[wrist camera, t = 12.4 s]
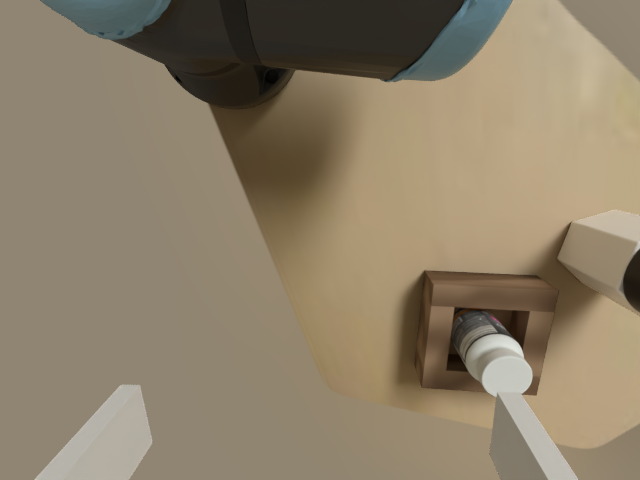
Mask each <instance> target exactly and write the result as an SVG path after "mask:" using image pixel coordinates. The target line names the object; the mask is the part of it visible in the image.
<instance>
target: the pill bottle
mask: <svg viewBox="0 0 640 480" xmlns="http://www.w3.org/2000/svg"><path fill="white" fill-rule="evenodd" d="M450 338H451V340H452V342H453V344H454V346H455V348H456V350H457V351H458V353H459V355H460V356H461V358H462V360H463V362H464V364H465V366H466V368H467V370H468V371H469V373H470V374H471V375H472V376H473V377H474V378H475V379H476V380H478V381H480V383H481V384H482V386H483V387H484V389H485V390H486V391H487V392H488V393H489V394H490V395H492V396H494V397H497V392H517V393H521V394H522V393H524V392H525V391H526V390H527V389H528V388H529V386H530V384H531V382H532V377H533V375H532V370H531V368H530V366H529V364H528V363H527V362H526V360H525V359H524V354H523V351H522V349H521V347H520V345H519V343H518V342H517V341H516V340H515V339H514V338H513V337H512V336H511V335H510V333H509V332H508V331H507V330H506V329H505V328H504V327H503V326H502V324H501V323H500V322H499V321H498V320H497V319H496V318H495V317H494V316H493V314H491V313H490V312H489V311H488V310H486V309H481V308H464V309H462V310H460V311H459V312H458V313H456V314H455V315H454V316H453V322H452V330H451V337H450Z"/></svg>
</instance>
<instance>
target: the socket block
mask: <svg viewBox="0 0 640 480" xmlns="http://www.w3.org/2000/svg"><path fill="white" fill-rule="evenodd" d="M558 293H559V290H557V289H556V288H554V287H553V286H551V285H550V284H548V283H547V282H545V281H544V280H542V279H541V278H539V277H538V276H532V275H510V274H489V273H467V272H445V271H425V272H424V282H423V291H422V300H421V310H420V319H419V329H418V338H417V347H416V357H415V368H416V371H417V374H418V377H419V380H420V383H421V387H422V388H433V389H448V390H463V391H477V392H487V391H486V390H485V389H484V387H483V386H482V384H481V383H480V381H478V380H476V379H475V378H474V377H473V376H472V375H471V374H470V373H469V371H468V370H467V368H466V366H465V364H464V362H463V360H462V358H461V356H460V355H459V353H458V351H457V350H456V348H455V346H454V344H453V342H452V340H451V338H450V337H451V330H452V322H453V316H454V315H455V314H456V313H458V312H459V311H460V310H462V309H464V308H481V309H486V310H488V311H489V312H490V313H491V314H493V316H494V317H495V318H496V319H497V320H498V321H499V322H500V323H501V324H502V326H503V327H504V328H505V329H506V330H507V331H508V332H509V333H510V335H511V336H512V337H513V338H514V339H515V340H516V341H517V342H518V343H519V345H520V347H521V349H522V351H523V354H524V359H525V360H526V362H527V363H528V364H529V366H530V368H531V370H532V375H533V377H532V382H531V384H530V386H529V388H528V389H527V390H526V391H525V392H524V393H522V395H537V390H538V386H539V381H540V377H541V372H542V367H543V363H544V358H545V353H546V349H547V344H548V339H549V335H550V330H551V325H552V321H553V316H554V311H555V307H556V302H557V297H558Z"/></svg>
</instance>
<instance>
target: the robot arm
mask: <svg viewBox="0 0 640 480" xmlns="http://www.w3.org/2000/svg"><path fill="white" fill-rule="evenodd" d="M40 1H42V2H43V3H44V4H46V5H47V6H48V7H50V8H51V9H52V10H54V11H56V12H57V13H59V14H61V15H62V16H64V17H66V18H67V19H69V20H71V21H72V22H74V23H75V24H76V25H77V26H78V27H80V28H82V29H83V30H84V31H86V32H87V33H89V34H92V35H96V36H98V37H100V38H103V39H109V40H112V41H114V42H116V43H119V44H121V45H123V46H125V47H127V48H130V49H132V50H134V51H136V52H138V53H141V54H143V55H145V56H147V57H150V58H152V59H154V60H156V61H158V62H161V63H163V64H165V66H166V68H167V69H168V71H169V72H170V74H171V75H172V76H173V77H174V79H175V80H176V81H177V82H178V83H179V84H180V85H181V86H182V87H183V88H184V89H185V90H187V91H188V92H189V93H191V94H192V95H194V96H195V97H197V98H199V99H200V100H202V101H205V102H207V103H210V104H213V105H216V106H219V107H223V108H229V109H243V108H249V107H253V106H256V105H259V104H261V103H264V102H265V101H267V100H269V99H270V98H272V97H273V96H275V95H276V94H277V93H278V92H279V91H280V90H281V89H282V88H283V87H284V86H285V85H286V84H287V82H288V81H289V79H290V78H291V76H292V75H293V73H294V71H295V70H303V71H312V72H321V73H330V74H339V75H349V76H358V77H367V78H376V79H380V80H382V81H384V82H391V81H392V82H397V81H400V80H420V81H435V80H440V79H444V78H447V77H449V76H451V75H453V74H455V73H456V72H458V71H459V70H461V69H462V68H463V67H464V66H465V65H467V64H468V63H469V62H470V61H471V60H472V59H473V58H474V57H475V56H476V55H477V53H478V52H479V51H480V50H481V49H482V47H483V46H484V45H485V43H486V42H487V41H488V39H489V38H490V36H491V35H492V34H493V32H494V31H495V29H496V27H497V26H498V24H499V23H500V21H501V20H502V18H503V16H504V15H505V13H506V11H507V9H508V8H509V6H510V4H511V2H512V1H513V0H40ZM151 444H152V437H151V433H150V429H149V424H148V419H147V415H146V410H145V406H144V401H143V397H142V392H141V388H140V385H120V386H119V387H118V389H117V390H116V391H115V392H114V393H113V394H112V395H111V396H110V397H109V398H108V400H107V401H106V402H105V403H104V404H103V405H102V406H101V407H100V408H99V409H98V410H97V412H96V413H95V414H94V415H93V416H92V417H91V418H90V419H89V420H88V422H87V423H86V424H85V425H84V426H83V427H82V428H81V429H80V430H79V432H77V434H76V435H75V436H74V437H73V438H72V439H71V440H70V441H69V442H68V443H67V444H66V446H65V447H64V448H63V449H62V450H61V451H60V452H59V453H58V454H57V455H56V457H55V458H54V459H53V460H52V461H51V462H50V463H49V464H48V465H47V466H46V468H45V469H44V470H43V471H42V472H41V473H40V474H39V475H38V476H37V477H36V479H35V480H129V479H130V477H131V475H132V474H133V472H134V471H135V469H136V468H137V466H138V465H139V463H140V461H141V460H142V458H143V457H144V455H145V454H146V452H147V450H148V449H149V447H150V446H151ZM489 454H490V456H491V459H492V461H493V463H494V465H495V467H496V470H497V472H498V474H499V476H500V479H501V480H578V478H577V477H576V475H575V474H574V472H573V471H572V469H571V468H570V466H569V465H568V463H567V462H566V460H565V459H564V457H563V456H562V454H561V453H560V451H559V450H558V449H557V447H556V445H555V444H554V442H553V441H552V439H551V438H550V437H549V435H548V434H547V432H546V431H545V429H544V428H543V426H542V425H541V423H540V422H539V420H538V419H537V417H536V416H535V414H534V413H533V411H532V410H531V408H530V407H529V405H528V404H527V402H526V401H525V399H524V398H523V396H522V395H521V393H517V392H497V397H496V405H495V413H494V421H493V429H492V437H491V445H490V453H489Z"/></svg>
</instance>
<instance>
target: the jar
mask: <svg viewBox="0 0 640 480" xmlns="http://www.w3.org/2000/svg"><path fill="white" fill-rule="evenodd" d="M557 259H558V260H559V261H560V262H561V263H562V264H563V265H564V266H565V267H566V268H567V269H568V270H569V271H570V272H571V273H572V274H573V275H574V276H575V277H576V278H577V279H578V280H579V281H580V282H582V283H583V284H584V285H586V286H588V287H590V288H591V289H593V290H595V291H597V292H598V293H600V294H602V295H604V296H605V297H607V298H609V299H611V300H612V301H614V302H616V303H618V304H619V305H621V306H623V307H625V308H626V309H628V310H630V311H632V312H633V313H635V314H637V315H639V316H640V215H637V214H633V213H628V212H624V211H620V210H611V211H607V212H604V213H600V214H596V215H593V216H589V217H586V218H582V219H579V220H575V221H573V222H572V223H571V225H570V228H569V230H568V233H567V235H566V238H565V240H564V243H563V245H562V248H561V250H560V252H559V255H558V257H557Z"/></svg>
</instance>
